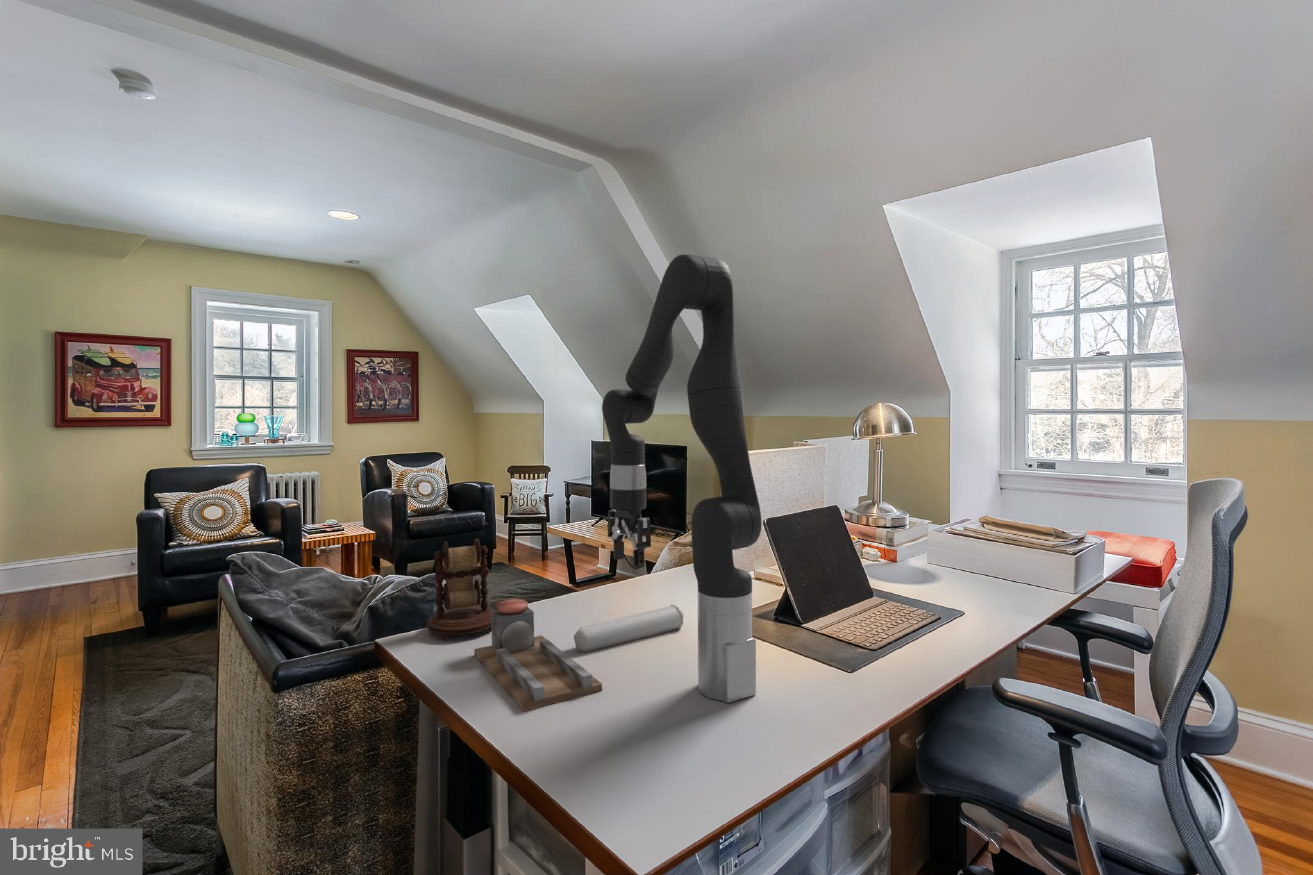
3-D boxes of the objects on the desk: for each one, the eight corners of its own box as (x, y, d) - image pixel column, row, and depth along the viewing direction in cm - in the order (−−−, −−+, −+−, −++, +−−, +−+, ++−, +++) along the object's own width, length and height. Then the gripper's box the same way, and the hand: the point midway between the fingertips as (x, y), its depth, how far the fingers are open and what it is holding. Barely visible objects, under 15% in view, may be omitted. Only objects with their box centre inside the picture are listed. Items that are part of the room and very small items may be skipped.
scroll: (488, 615, 151) (486, 531, 150) (505, 634, 138) (503, 542, 137) (422, 625, 144) (420, 537, 143) (433, 646, 131) (431, 549, 130)
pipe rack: (602, 690, 110) (601, 634, 109) (523, 711, 103) (522, 651, 102) (540, 640, 134) (540, 594, 134) (473, 654, 127) (472, 605, 126)
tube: (583, 638, 125) (685, 613, 139) (571, 623, 129) (671, 599, 143) (580, 661, 126) (681, 633, 141) (568, 645, 130) (667, 620, 145)
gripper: (661, 488, 129) (661, 568, 130) (627, 481, 141) (627, 554, 142) (629, 491, 125) (629, 573, 126) (596, 483, 137) (597, 558, 138)
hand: (628, 563), depth 134 cm, fingers open, 8 cm apart
